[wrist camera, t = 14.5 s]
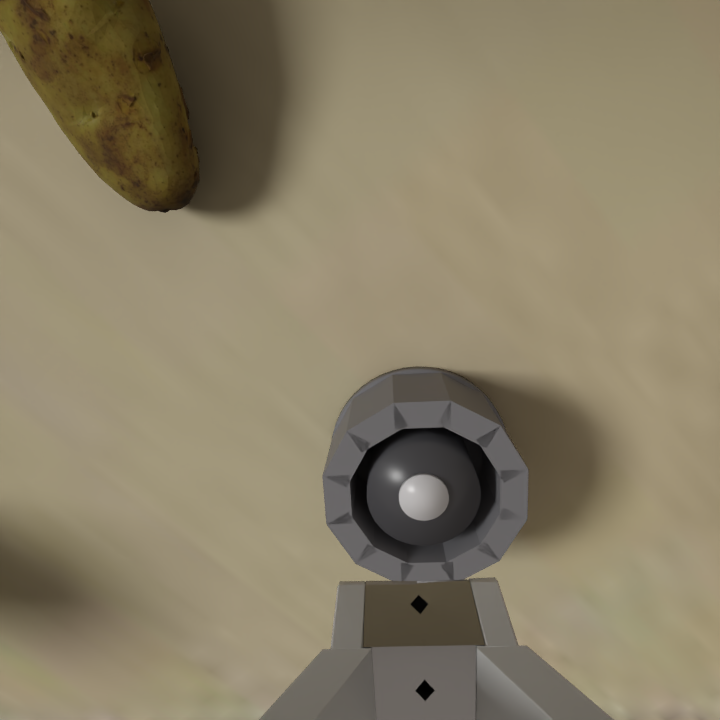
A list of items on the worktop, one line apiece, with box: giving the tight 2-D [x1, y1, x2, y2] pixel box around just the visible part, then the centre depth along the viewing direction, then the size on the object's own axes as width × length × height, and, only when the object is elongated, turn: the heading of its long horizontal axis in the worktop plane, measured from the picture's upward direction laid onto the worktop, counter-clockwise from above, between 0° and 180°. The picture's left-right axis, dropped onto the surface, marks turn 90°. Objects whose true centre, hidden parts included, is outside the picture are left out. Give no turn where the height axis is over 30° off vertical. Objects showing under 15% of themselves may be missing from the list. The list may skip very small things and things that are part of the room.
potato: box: [0, 0, 199, 213], centre depth 25 cm, size 8×13×8 cm, turn 179°
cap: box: [367, 427, 481, 546], centre depth 30 cm, size 6×6×5 cm
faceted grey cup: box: [323, 367, 528, 581], centre depth 30 cm, size 11×11×6 cm
